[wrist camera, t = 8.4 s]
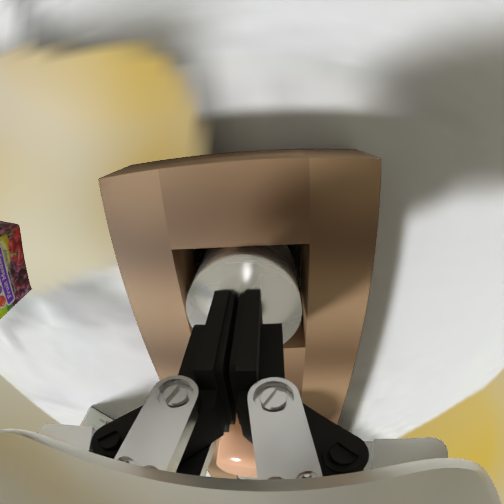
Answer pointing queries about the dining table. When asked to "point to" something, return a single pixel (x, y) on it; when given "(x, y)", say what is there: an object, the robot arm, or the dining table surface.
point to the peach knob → (236, 453)
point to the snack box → (11, 267)
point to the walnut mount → (252, 234)
